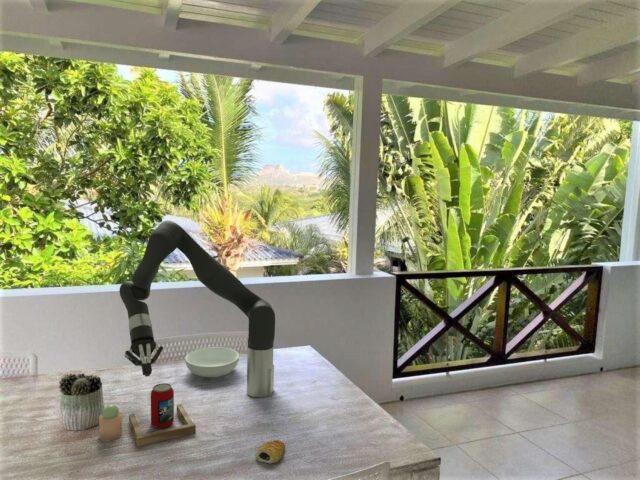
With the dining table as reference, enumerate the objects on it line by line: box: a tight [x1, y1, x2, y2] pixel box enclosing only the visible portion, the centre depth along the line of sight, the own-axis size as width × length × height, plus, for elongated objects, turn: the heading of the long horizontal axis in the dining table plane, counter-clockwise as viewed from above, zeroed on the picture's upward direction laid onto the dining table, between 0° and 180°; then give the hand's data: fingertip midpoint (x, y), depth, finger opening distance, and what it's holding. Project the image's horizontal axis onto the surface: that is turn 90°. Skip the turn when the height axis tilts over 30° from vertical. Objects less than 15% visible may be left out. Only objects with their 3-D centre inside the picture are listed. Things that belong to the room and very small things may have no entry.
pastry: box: [254, 439, 286, 465], centre depth 130 cm, size 9×7×4 cm
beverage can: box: [150, 382, 175, 429], centre depth 144 cm, size 7×7×12 cm
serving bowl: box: [184, 346, 240, 378], centre depth 185 cm, size 21×21×7 cm
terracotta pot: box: [98, 404, 123, 442], centre depth 136 cm, size 6×6×9 cm
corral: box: [128, 403, 196, 448], centre depth 142 cm, size 16×16×2 cm
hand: (147, 375), depth 155 cm, fingers closed
